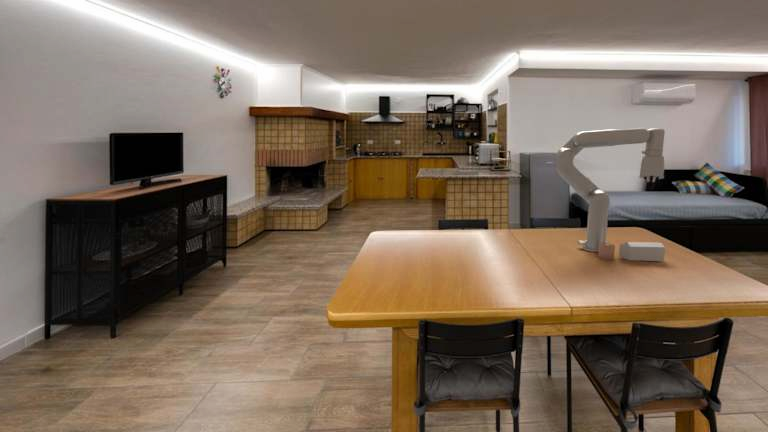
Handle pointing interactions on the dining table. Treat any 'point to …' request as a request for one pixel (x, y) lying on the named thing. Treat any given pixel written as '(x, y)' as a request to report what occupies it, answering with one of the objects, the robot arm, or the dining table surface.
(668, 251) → the dining table surface
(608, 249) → the tan block
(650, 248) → the milk carton
